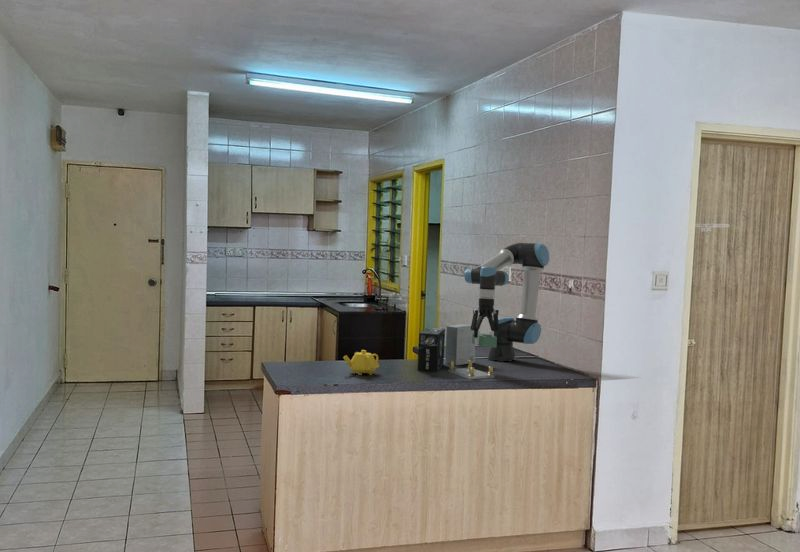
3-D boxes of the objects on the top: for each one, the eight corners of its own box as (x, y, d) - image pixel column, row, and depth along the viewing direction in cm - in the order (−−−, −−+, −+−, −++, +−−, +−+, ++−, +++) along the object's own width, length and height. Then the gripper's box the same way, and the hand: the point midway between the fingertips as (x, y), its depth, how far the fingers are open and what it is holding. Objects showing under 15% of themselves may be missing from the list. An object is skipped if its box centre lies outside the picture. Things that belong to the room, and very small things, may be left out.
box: (437, 372, 353) (439, 333, 352) (417, 371, 354) (418, 332, 354) (444, 365, 375) (445, 328, 374) (425, 363, 377) (426, 327, 376)
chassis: (470, 370, 363) (471, 359, 362) (493, 377, 345) (494, 366, 345) (448, 371, 357) (448, 360, 356) (470, 379, 339) (471, 368, 339)
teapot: (355, 369, 350) (355, 346, 350) (381, 372, 345) (382, 349, 345) (341, 374, 337) (342, 350, 336) (368, 377, 332) (369, 353, 331)
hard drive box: (463, 361, 390) (465, 323, 389) (474, 363, 385) (476, 325, 384) (444, 363, 379) (446, 325, 378) (455, 365, 374) (457, 327, 373)
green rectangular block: (484, 343, 366) (485, 332, 366) (496, 347, 353) (497, 335, 352) (471, 343, 364) (472, 332, 364) (483, 347, 351) (483, 335, 350)
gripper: (499, 297, 365) (496, 342, 366) (464, 296, 356) (462, 343, 357) (508, 298, 359) (505, 345, 360) (473, 298, 349) (470, 345, 350)
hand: (484, 344), depth 358 cm, fingers closed on green rectangular block, 8 cm apart
